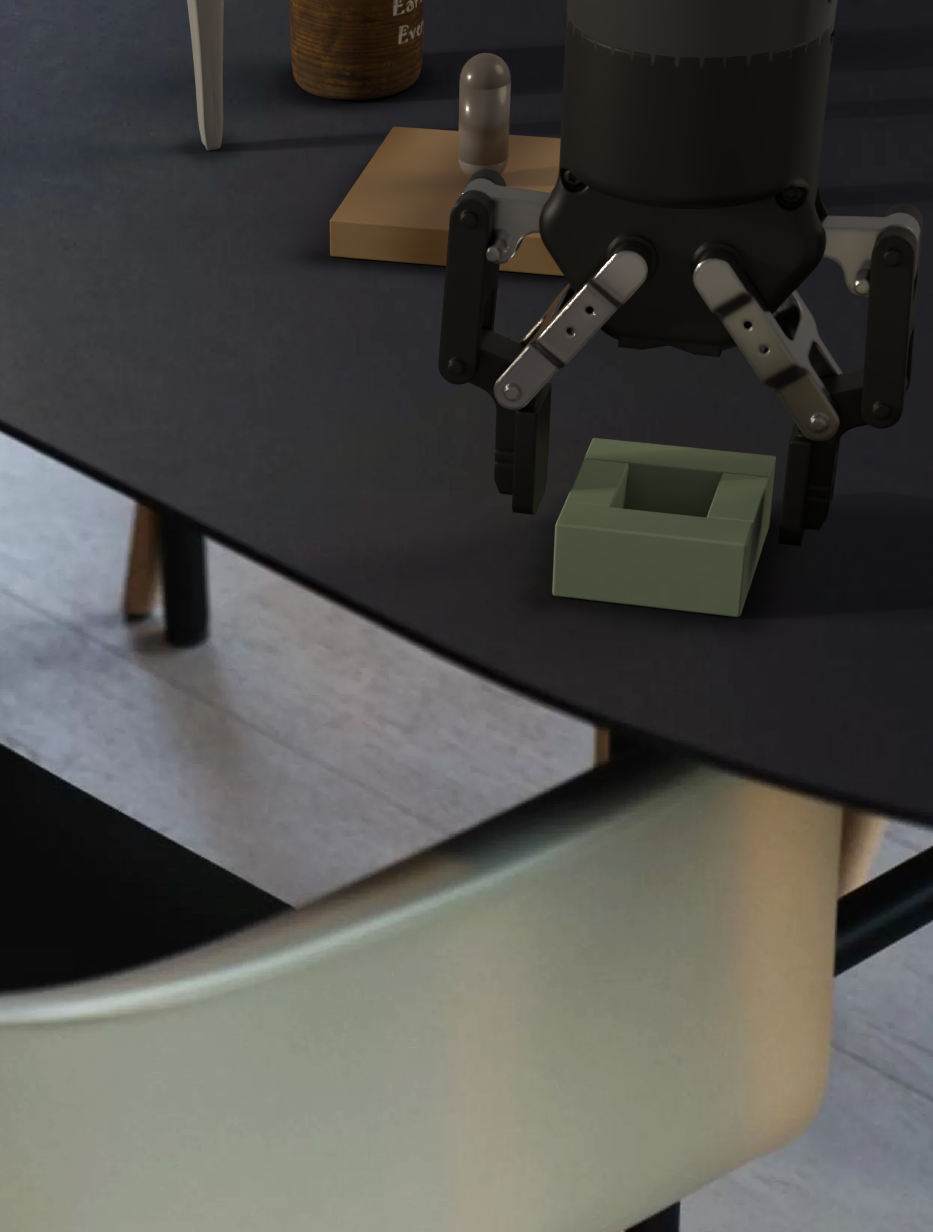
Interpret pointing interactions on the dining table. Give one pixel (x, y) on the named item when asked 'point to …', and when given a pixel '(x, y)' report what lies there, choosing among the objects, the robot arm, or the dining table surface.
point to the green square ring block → (663, 527)
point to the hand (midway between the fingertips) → (660, 518)
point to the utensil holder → (356, 46)
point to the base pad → (445, 179)
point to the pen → (208, 67)
